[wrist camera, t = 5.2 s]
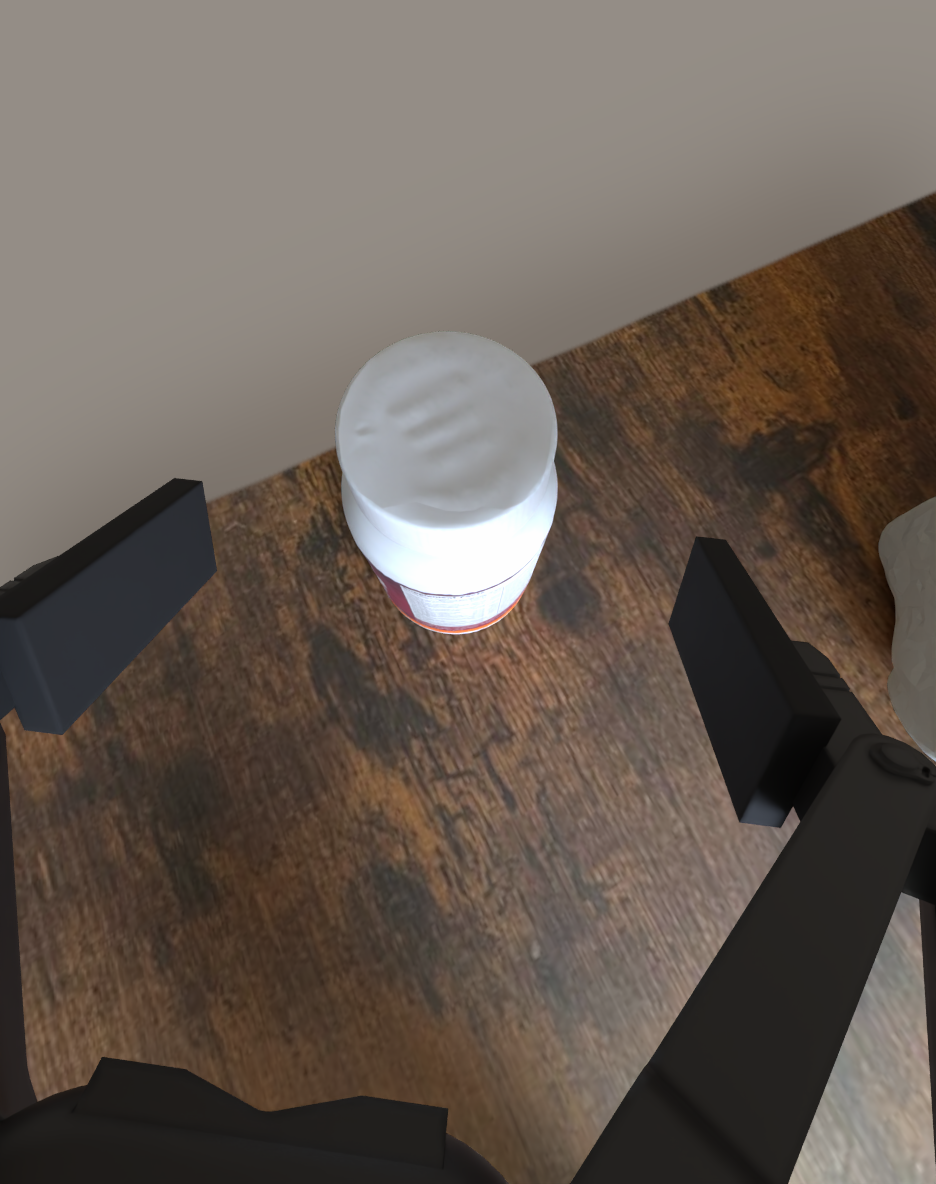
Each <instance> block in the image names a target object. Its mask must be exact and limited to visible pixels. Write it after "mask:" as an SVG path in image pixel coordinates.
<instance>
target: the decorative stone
mask: <svg viewBox="0 0 936 1184" xmlns="http://www.w3.org/2000/svg"><path fill="white" fill-rule="evenodd" d="M878 545H879V556H880V559H881V562H882V564H883V567H884V570H885V576H886V579H887V582H888V584H889V587H890V589H891V591H892V594H893V596H894V598H895V609H896V623H895V629H894V635H893V642H892V664H893V666H894V668H893V670H892V671H891V673H890V675H889V677H888V682H887V688H888V692H889V696H890V700H891V703H892V706H893V709H894V711H895V713H896V715H897V716H898V718H899V719H900V721H901V723H902V725H903V726H904V728H905V730H906V732H907V733H908V734H909V735H910V736H911V738H912V739H913V740H914V741H915V742H916V743H917V745H918V746H919V747H920V748H921V749H922V751H923V752H924V753H925V754H926V755H928V756H929V757H930V758H932V759H933V760H934V761H936V496H935V497H933V498H931V499H929V500H927V501H925V502H923V503H921V504H920V505H918V506H916V507H915V508H913V509H911V510H910V511H908V512H906V513H904V514H903V515H901V516H898V517H897V518H896V519H894V520H893V521H892V522H890V523H889V524H887V526H886V527H885V529H884V530H883V531H882V534H881V537H880V540H879V544H878Z"/></svg>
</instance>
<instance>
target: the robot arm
mask: <svg viewBox="0 0 936 1184" xmlns="http://www.w3.org/2000/svg"><path fill="white" fill-rule="evenodd" d="M216 571H217V568H216V562H215V556H214V549H213V543H212V537H211V531H210V525H209V519H208V513H207V507H206V501H205V495H204V489H203V483H202V481H195V480H186V479H176V478H174V479H172V480H171V481H169V482H168V483H166V484H165V485H163V486H162V487H161V488H159V489H158V490H156V491H155V492H153V493H152V494H150V495H149V496H147V497H146V498H144V499H143V500H141V501H140V502H138V503H137V504H135V505H134V506H132V507H131V508H129V509H128V510H126V511H125V512H123V513H122V514H121V515H119V516H118V517H116V518H115V519H113V520H112V521H110V522H109V523H107V524H106V525H104V526H103V527H101V528H100V529H98V530H97V531H95V532H94V533H92V534H91V535H90V536H88V537H86V538H85V539H84V540H82V541H80V542H79V543H78V544H76V545H75V546H73V547H72V548H70V549H69V550H67V551H66V552H64V553H63V554H61V555H60V556H57V557H54V558H52V559H49V560H47V561H44V562H41V563H39V564H36V565H33V566H32V567H30V568H29V569H28V570H26V571H24V572H23V573H21V574H20V575H18V576H17V577H15V578H14V581H9V582H7V583H6V584H4V585H3V586H1V587H0V720H1V719H2V718H3V717H4V716H5V715H7V714H8V713H9V712H10V711H11V710H12V709H13V708H14V707H15V709H16V712H17V714H18V716H19V719H20V721H21V723H22V726H23V728H24V730H28V731H35V732H43V733H51V734H59V735H63V734H64V733H65V731H66V730H67V729H68V728H69V727H70V726H71V725H72V724H73V723H74V722H75V721H76V720H77V719H78V718H79V717H80V716H81V715H82V713H83V712H84V711H85V710H86V709H87V708H88V707H89V706H90V705H91V704H92V703H93V702H94V701H95V700H96V699H97V698H98V696H99V695H100V694H101V693H102V692H103V691H104V690H105V689H106V688H107V687H108V686H109V685H110V684H111V683H112V682H113V681H114V680H115V678H116V677H117V676H118V675H119V674H120V673H121V672H122V671H123V670H124V669H125V668H126V667H127V666H128V665H129V664H130V663H131V661H132V660H133V659H134V658H135V657H136V656H137V655H138V654H139V653H140V652H141V651H142V650H143V649H144V648H145V647H146V646H147V644H148V643H149V642H150V641H151V640H152V639H153V638H154V637H155V636H156V635H157V634H158V633H159V632H160V631H161V630H162V629H163V628H164V626H165V625H166V624H167V623H168V622H169V621H170V620H171V619H172V618H173V617H174V616H175V615H176V614H177V613H178V612H179V611H180V609H181V608H182V607H183V606H184V605H185V604H186V603H187V602H188V601H189V600H190V599H191V598H192V597H193V596H194V595H195V594H196V593H197V591H198V590H199V589H200V588H201V587H202V586H203V585H204V584H205V583H206V582H207V581H208V580H209V579H210V578H211V577H212V576H213V574H214V573H215V572H216ZM669 626H670V629H671V632H672V635H673V637H674V640H675V643H676V646H677V649H678V651H679V654H680V657H681V660H682V663H683V665H684V668H685V671H686V674H687V677H688V679H689V682H690V685H691V688H692V691H693V693H694V696H695V699H696V702H697V705H698V708H699V710H700V713H701V716H702V719H703V722H704V724H705V727H706V730H707V733H708V736H709V738H710V741H711V744H712V747H713V750H714V752H715V755H716V758H717V761H718V764H719V766H720V769H721V772H722V775H723V778H724V780H725V783H726V786H727V789H728V792H729V794H730V797H731V800H732V803H733V806H734V808H735V811H736V814H737V817H738V820H739V822H741V823H748V824H756V825H764V826H772V827H779V828H781V826H782V825H783V823H784V821H785V819H786V818H787V816H788V814H789V812H790V810H791V809H792V807H794V809H795V811H796V813H797V815H798V817H799V820H800V824H799V825H798V827H797V828H796V830H795V832H794V833H793V835H792V836H791V838H790V839H789V841H788V843H787V844H786V846H785V847H784V849H783V851H782V852H781V854H780V855H779V857H778V858H777V860H776V862H775V863H774V865H773V866H772V868H771V870H770V871H769V873H768V874H767V876H766V877H765V879H764V881H763V882H762V884H761V885H760V887H759V889H758V890H757V892H756V893H755V895H754V896H753V898H752V900H751V901H750V903H749V904H748V906H747V908H746V909H745V911H744V912H743V914H742V915H741V917H740V919H739V920H738V922H737V923H736V925H735V927H734V928H733V930H732V931H731V933H730V934H729V936H728V938H727V939H726V941H725V942H724V944H723V946H722V947H721V949H720V950H719V952H718V953H717V955H716V957H715V958H714V960H713V961H712V963H711V965H710V966H709V968H708V969H707V971H706V972H705V974H704V976H703V977H702V979H701V980H700V982H699V984H698V985H697V987H696V988H695V990H694V991H693V993H692V995H691V996H690V998H689V999H688V1001H687V1003H686V1004H685V1006H684V1007H683V1009H682V1011H681V1012H680V1014H679V1015H678V1017H677V1018H676V1020H675V1022H674V1023H673V1025H672V1026H671V1028H670V1030H669V1031H668V1033H667V1034H666V1036H665V1037H664V1039H663V1041H662V1042H661V1044H660V1045H659V1047H658V1049H657V1050H656V1052H655V1053H654V1055H653V1056H652V1058H651V1059H650V1061H649V1062H648V1064H647V1065H646V1066H645V1067H644V1069H643V1070H642V1072H641V1073H640V1075H639V1076H638V1077H637V1079H636V1081H635V1082H634V1084H633V1085H632V1087H631V1088H630V1090H629V1091H628V1093H627V1095H626V1096H625V1098H624V1099H623V1101H622V1102H621V1104H620V1106H619V1107H618V1109H617V1110H616V1112H615V1113H614V1115H613V1117H612V1118H611V1120H610V1121H609V1123H608V1125H607V1126H606V1128H605V1129H604V1131H603V1132H602V1134H601V1136H600V1137H599V1139H598V1140H597V1142H596V1143H595V1145H594V1147H593V1148H592V1150H591V1151H590V1153H589V1155H588V1156H587V1158H586V1159H585V1161H584V1162H583V1164H582V1166H581V1167H580V1169H579V1170H578V1172H577V1173H576V1175H575V1177H574V1178H573V1180H572V1181H571V1183H570V1184H788V1183H789V1180H790V1177H791V1174H792V1172H793V1169H794V1166H795V1164H796V1161H797V1159H798V1156H799V1154H800V1151H801V1148H802V1146H803V1143H804V1141H805V1138H806V1136H807V1133H808V1130H809V1128H810V1125H811V1123H812V1120H813V1118H814V1115H815V1112H816V1110H817V1107H818V1105H819V1102H820V1100H821V1097H822V1094H823V1092H824V1089H825V1087H826V1084H827V1082H828V1079H829V1076H830V1074H831V1071H832V1069H833V1066H834V1064H835V1061H836V1058H837V1056H838V1053H839V1051H840V1048H841V1046H842V1043H843V1040H844V1038H845V1035H846V1033H847V1030H848V1028H849V1025H850V1022H851V1020H852V1017H853V1015H854V1012H855V1010H856V1007H857V1004H858V1002H859V999H860V997H861V994H862V992H863V989H864V986H865V984H866V981H867V979H868V976H869V974H870V971H871V968H872V966H873V963H874V961H875V958H876V956H877V953H878V950H879V948H880V945H881V943H882V940H883V937H884V935H885V932H886V930H887V927H888V925H889V922H890V919H891V917H892V914H893V912H894V909H895V907H896V904H897V901H898V899H899V896H900V894H901V892H903V893H905V894H908V895H910V896H913V897H915V898H918V899H919V903H920V919H921V935H922V952H923V968H924V984H925V1000H926V1016H927V1033H928V1049H929V1065H930V1081H931V1097H932V1114H933V1130H934V1146H935V1162H936V767H935V765H934V764H933V763H932V762H931V761H930V760H929V759H927V758H926V757H925V756H924V755H923V754H922V753H921V752H919V751H917V750H916V749H914V748H912V747H911V746H909V745H908V744H906V743H904V742H901V741H899V740H896V739H894V738H891V737H889V736H885V735H882V734H881V732H880V731H879V729H878V728H877V727H876V725H875V724H874V722H873V721H872V719H871V718H870V717H869V715H868V714H867V712H866V711H865V710H864V708H863V707H862V705H861V704H860V703H859V701H858V700H857V698H856V697H855V695H854V694H853V693H852V692H849V690H850V688H849V687H848V686H847V684H846V683H845V681H844V680H843V678H840V674H839V673H838V671H837V670H836V669H835V667H834V666H833V664H832V663H831V661H830V660H829V659H828V658H827V657H826V656H825V655H823V654H822V653H821V652H820V651H818V650H817V649H816V648H815V647H813V646H812V645H811V644H809V643H808V642H799V641H791V640H790V638H789V637H788V635H787V634H786V632H785V631H784V629H783V628H782V626H781V624H780V623H779V621H778V620H777V618H776V617H775V615H774V614H773V612H772V611H771V609H770V607H769V606H768V604H767V603H766V601H765V600H764V598H763V597H762V595H761V593H760V592H759V590H758V589H757V587H756V586H755V584H754V583H753V581H752V580H751V578H750V576H749V575H748V573H747V572H746V570H745V569H744V567H743V566H742V564H741V562H740V561H739V559H738V558H737V556H736V555H735V553H734V552H733V550H732V549H731V547H730V545H729V544H728V542H727V541H726V540H723V539H714V538H705V537H696V538H695V542H694V545H693V548H692V551H691V554H690V557H689V561H688V564H687V567H686V570H685V573H684V576H683V580H682V583H681V586H680V589H679V592H678V596H677V599H676V602H675V605H674V608H673V611H672V615H671V618H670V621H669ZM447 1117H448V1108H442V1107H435V1106H428V1105H422V1104H415V1103H408V1102H402V1101H395V1100H388V1099H381V1098H375V1097H368V1096H357V1097H352V1098H346V1099H340V1100H335V1101H329V1102H323V1103H318V1104H312V1105H307V1106H301V1107H295V1108H290V1109H284V1110H278V1111H271V1112H266V1111H261V1110H258V1109H256V1108H254V1107H252V1106H250V1105H249V1104H247V1103H245V1102H243V1101H241V1100H240V1099H238V1098H236V1097H234V1096H233V1095H231V1094H229V1093H227V1092H225V1091H224V1090H222V1089H220V1088H218V1087H216V1086H215V1085H213V1084H211V1083H209V1082H207V1081H206V1080H204V1079H202V1078H200V1077H198V1076H197V1075H195V1074H193V1073H191V1072H190V1071H188V1070H186V1069H180V1068H174V1067H167V1066H160V1065H154V1064H147V1063H140V1062H134V1061H127V1060H120V1059H113V1058H107V1057H102V1058H101V1060H100V1062H99V1064H98V1066H97V1068H96V1070H95V1071H94V1073H93V1075H92V1077H91V1079H90V1081H89V1083H88V1085H85V1086H80V1087H77V1088H73V1089H70V1090H67V1091H64V1092H60V1093H57V1094H54V1095H52V1096H50V1097H47V1098H45V1099H43V1100H41V1101H38V1102H37V1099H36V1096H35V1092H34V1089H33V1086H32V1083H31V1080H30V1076H29V1071H28V1067H27V1058H26V1045H25V1030H24V1014H23V998H22V983H21V967H20V952H19V936H18V920H17V905H16V889H15V874H14V858H13V842H12V827H11V811H10V796H9V780H8V764H7V749H6V735H5V732H4V730H3V728H2V726H1V724H0V1184H508V1182H507V1181H506V1180H505V1178H504V1177H503V1176H502V1175H501V1174H500V1173H499V1172H498V1171H497V1170H496V1169H495V1168H494V1167H493V1166H492V1165H491V1164H490V1163H489V1162H488V1161H487V1160H486V1159H485V1158H484V1157H482V1156H481V1155H480V1154H478V1153H477V1152H476V1151H474V1150H473V1149H472V1148H471V1147H469V1146H468V1145H467V1144H465V1143H463V1142H462V1141H460V1140H458V1139H456V1138H454V1137H452V1136H451V1135H449V1134H447V1133H446V1128H447Z"/></svg>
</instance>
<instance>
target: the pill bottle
mask: <svg viewBox="0 0 936 1184" xmlns="http://www.w3.org/2000/svg"><path fill="white" fill-rule="evenodd" d="M335 443H336V451H337V456H338V460H339V463H340V467H341V469H342V472H343V474H342V483H341V494H342V503H343V509H344V513H345V517H346V520H347V524H348V526H349V529H350V531H351V533H352V536H353V538H354V540H355V542H356V544H357V546H358V547H359V549H360V550H361V551H362V553H363V555H364V556H365V558H366V559H367V561H368V562H369V564H370V566H371V567H372V569H373V571H374V572H375V574H376V576H377V577H378V579H379V581H380V583H381V584H382V586H383V587H384V589H385V591H386V593H387V595H388V596H389V598H390V599H391V600H392V602H393V604H394V605H395V606H396V607H397V608H398V609H399V611H400V612H402V613H403V614H404V615H405V616H406V617H407V618H409V619H410V620H411V621H413V622H415V623H416V624H418V625H420V626H422V627H424V628H426V629H429V630H432V631H435V632H440V633H446V634H465V633H471V632H475V631H478V630H481V629H484V628H486V627H489V626H490V625H492V624H494V623H496V622H497V621H499V620H500V619H502V618H503V617H504V616H505V615H506V614H508V613H509V612H510V611H511V610H512V608H513V607H514V606H515V605H516V603H517V602H518V601H519V599H520V597H521V596H522V594H523V592H524V591H525V589H526V586H527V584H528V582H529V580H530V578H531V575H532V572H533V570H534V567H535V565H536V562H537V560H538V557H539V555H540V552H541V550H542V547H543V545H544V542H545V540H546V537H547V534H548V532H549V529H550V527H551V525H552V522H553V516H554V513H555V508H556V503H557V487H558V485H557V474H556V468H555V464H554V457H555V452H556V446H557V420H556V414H555V410H554V406H553V403H552V400H551V397H550V394H549V392H548V390H547V388H546V387H545V385H544V383H543V381H542V380H541V378H540V377H539V376H538V374H537V373H536V372H535V371H534V369H533V368H532V367H531V366H530V365H529V364H528V363H527V362H526V361H525V360H524V359H523V358H521V357H520V356H519V355H517V354H516V353H515V352H513V351H512V350H510V349H508V348H507V347H505V346H503V345H501V344H500V343H498V342H496V341H494V340H491V339H488V338H485V337H482V336H478V335H474V334H471V333H464V332H453V331H440V332H439V331H438V332H430V333H425V334H418V335H415V336H412V337H408V338H405V339H402V340H400V341H398V342H396V343H394V344H392V345H390V346H388V347H387V348H385V349H384V350H382V351H380V352H379V353H377V354H376V355H375V356H373V357H372V358H371V359H370V360H369V361H367V362H366V363H365V364H364V365H363V366H362V368H360V370H359V371H358V372H357V373H356V374H355V376H354V377H353V379H352V380H351V381H350V383H349V385H348V386H347V388H346V390H345V392H344V395H343V397H342V399H341V402H340V405H339V408H338V412H337V417H336V424H335Z"/></svg>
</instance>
